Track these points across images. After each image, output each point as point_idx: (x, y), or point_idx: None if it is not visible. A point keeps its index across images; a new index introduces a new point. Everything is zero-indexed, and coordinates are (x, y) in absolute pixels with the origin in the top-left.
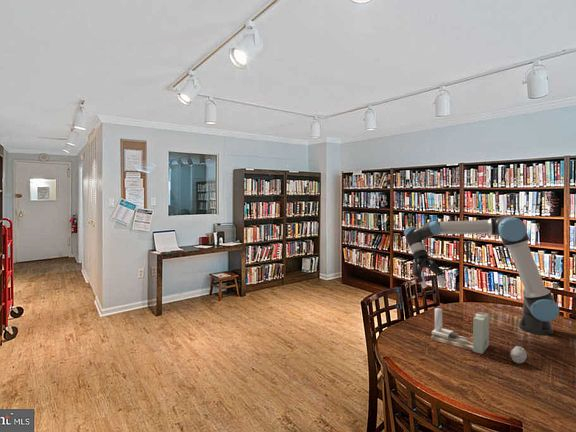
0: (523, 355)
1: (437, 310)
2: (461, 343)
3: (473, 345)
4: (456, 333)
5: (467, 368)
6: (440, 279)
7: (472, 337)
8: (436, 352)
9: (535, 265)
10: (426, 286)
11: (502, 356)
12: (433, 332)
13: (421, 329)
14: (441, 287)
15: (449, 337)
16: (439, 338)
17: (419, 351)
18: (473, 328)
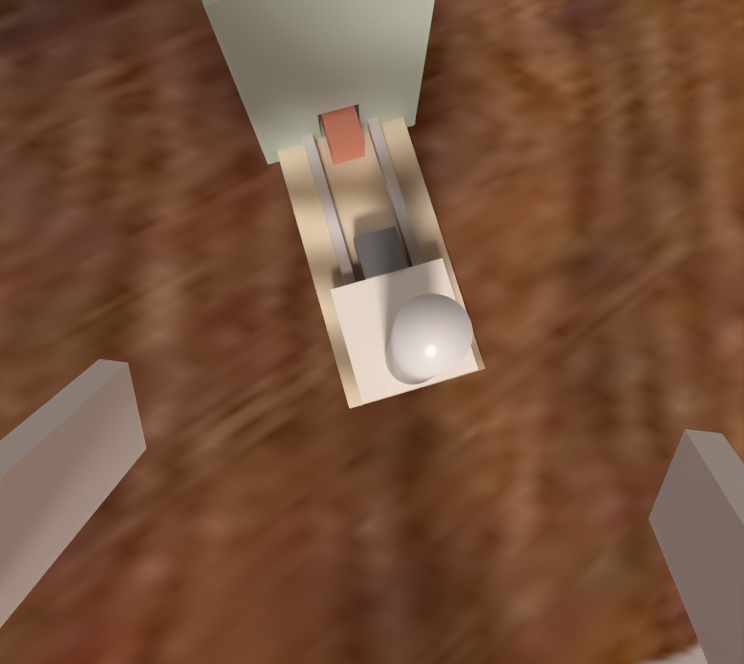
0: None
1: (468, 320)
2: (409, 189)
3: (416, 100)
4: (363, 240)
5: (624, 35)
6: (3, 533)
7: (348, 132)
8: (611, 229)
9: None
10: (709, 435)
11: None
12: (472, 356)
13: (383, 529)
14: (139, 453)
15: (418, 264)
16: None
17: (692, 292)
18: (430, 18)
